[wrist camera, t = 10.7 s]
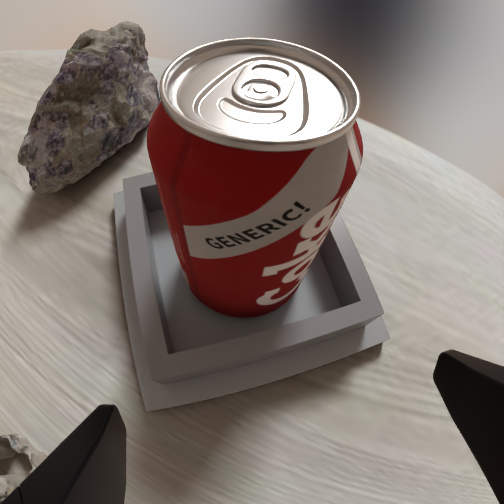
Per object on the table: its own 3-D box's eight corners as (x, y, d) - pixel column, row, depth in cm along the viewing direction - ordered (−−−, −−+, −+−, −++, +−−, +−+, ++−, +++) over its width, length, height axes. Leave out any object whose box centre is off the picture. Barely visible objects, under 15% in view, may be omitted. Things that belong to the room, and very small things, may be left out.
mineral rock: (45, 215, 20) (-18, 117, 11) (30, 140, 24) (-7, 59, 15) (192, 141, 24) (184, 27, 15) (145, 84, 28) (133, -2, 19)
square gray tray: (383, 342, 18) (411, 327, 15) (150, 411, 15) (132, 412, 12) (304, 165, 24) (313, 131, 21) (117, 202, 21) (103, 169, 18)
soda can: (166, 300, 17) (85, 132, 6) (207, 203, 20) (197, 22, 9) (285, 337, 17) (382, 204, 6) (311, 232, 20) (380, 60, 9)
